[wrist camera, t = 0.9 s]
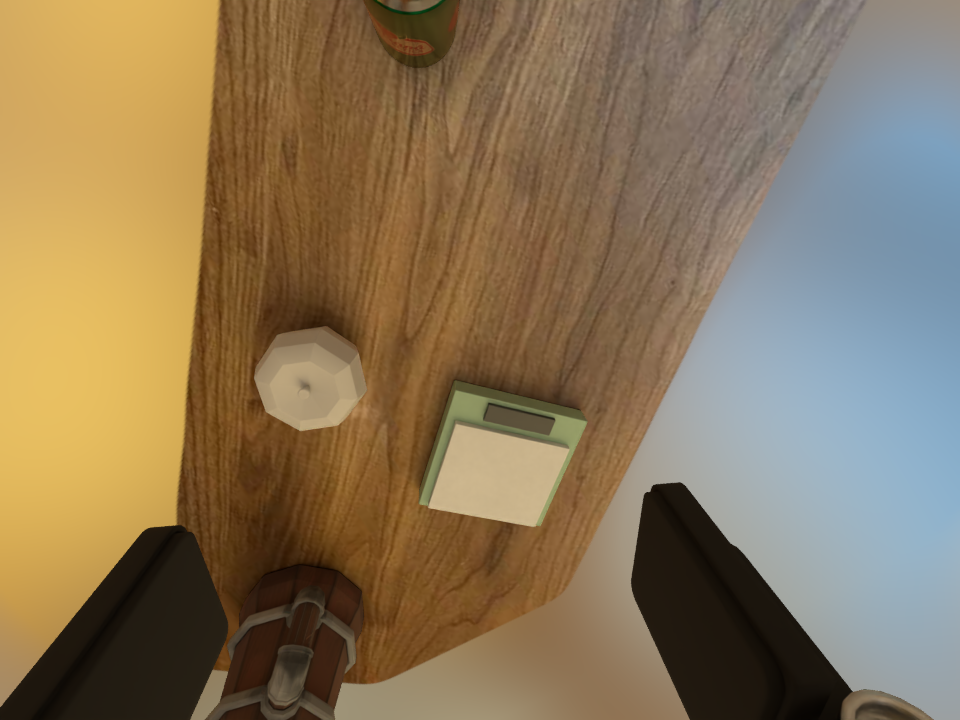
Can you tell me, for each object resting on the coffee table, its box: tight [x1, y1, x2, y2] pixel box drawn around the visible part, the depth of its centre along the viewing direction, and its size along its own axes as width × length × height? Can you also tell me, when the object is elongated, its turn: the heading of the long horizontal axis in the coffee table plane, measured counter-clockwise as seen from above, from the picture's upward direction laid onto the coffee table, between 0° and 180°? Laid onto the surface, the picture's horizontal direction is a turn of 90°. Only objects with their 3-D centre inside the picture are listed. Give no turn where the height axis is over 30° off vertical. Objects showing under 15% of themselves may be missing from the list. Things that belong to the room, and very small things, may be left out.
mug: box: [205, 565, 364, 720], centre depth 39 cm, size 16×12×15 cm
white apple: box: [254, 326, 367, 431], centre depth 33 cm, size 8×8×7 cm
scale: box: [419, 380, 587, 527], centre depth 40 cm, size 12×12×3 cm
